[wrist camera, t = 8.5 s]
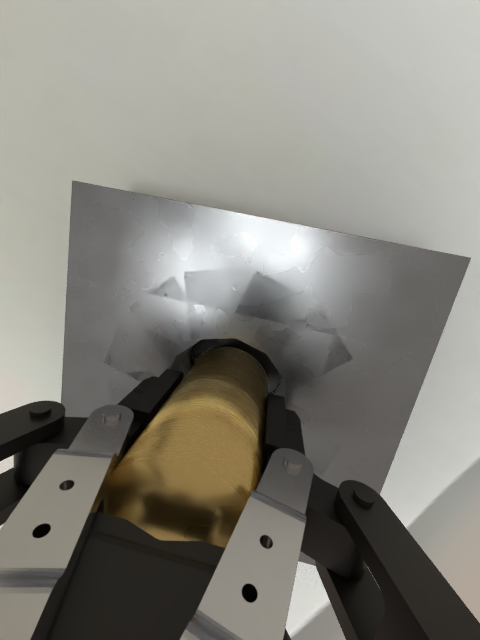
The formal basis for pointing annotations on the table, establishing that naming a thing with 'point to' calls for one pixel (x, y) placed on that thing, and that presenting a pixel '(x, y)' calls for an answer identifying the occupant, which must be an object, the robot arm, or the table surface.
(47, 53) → the table surface
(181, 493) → the brass peg
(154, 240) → the jig
